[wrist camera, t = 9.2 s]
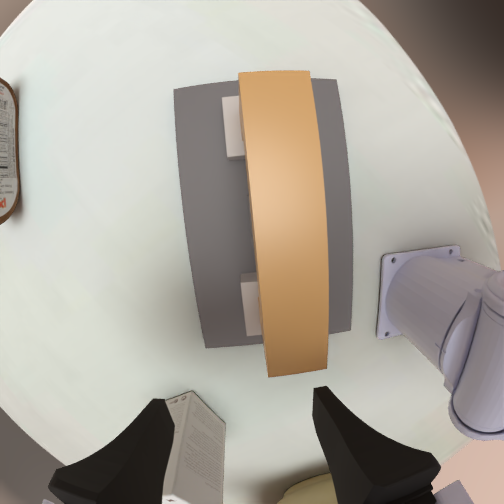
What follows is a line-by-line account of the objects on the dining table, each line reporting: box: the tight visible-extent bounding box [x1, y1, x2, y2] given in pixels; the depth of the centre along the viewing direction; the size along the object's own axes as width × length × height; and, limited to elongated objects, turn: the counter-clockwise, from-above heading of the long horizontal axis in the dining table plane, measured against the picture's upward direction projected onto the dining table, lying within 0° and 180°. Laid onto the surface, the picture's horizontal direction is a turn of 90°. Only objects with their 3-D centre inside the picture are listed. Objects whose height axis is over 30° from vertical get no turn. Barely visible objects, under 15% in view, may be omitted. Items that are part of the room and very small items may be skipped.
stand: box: [174, 78, 353, 348], centre depth 18 cm, size 12×20×4 cm, turn 5°
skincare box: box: [162, 391, 226, 504], centre depth 18 cm, size 6×4×12 cm
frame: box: [238, 71, 329, 377], centre depth 14 cm, size 3×14×6 cm, turn 6°
